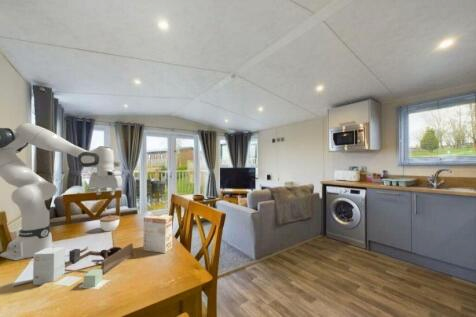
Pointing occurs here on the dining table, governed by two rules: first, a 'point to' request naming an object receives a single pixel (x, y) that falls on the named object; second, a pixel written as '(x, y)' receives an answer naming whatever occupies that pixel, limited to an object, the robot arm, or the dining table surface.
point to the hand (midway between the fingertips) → (105, 194)
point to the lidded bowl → (109, 222)
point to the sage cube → (93, 278)
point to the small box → (48, 265)
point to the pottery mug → (106, 253)
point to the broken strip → (71, 280)
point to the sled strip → (107, 263)
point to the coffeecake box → (157, 233)
